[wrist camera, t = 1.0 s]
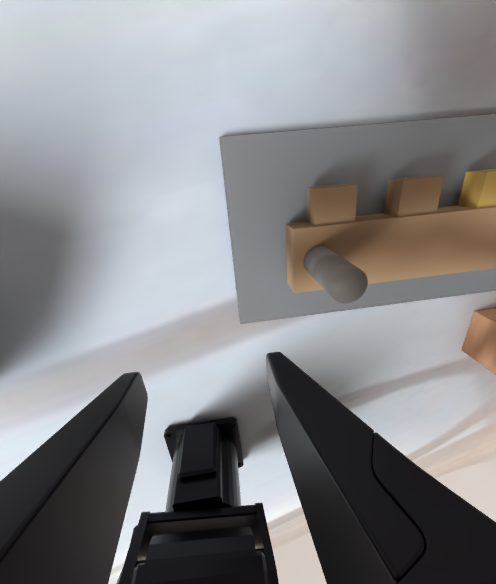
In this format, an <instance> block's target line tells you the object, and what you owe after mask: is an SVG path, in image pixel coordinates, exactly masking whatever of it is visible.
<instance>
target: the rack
mask: <svg viewBox="0 0 496 584" xmlns="http://www.w3.org/2000/svg"><path fill="white" fill-rule="evenodd" d="M443 179H444V176H420V177H410V178H400V179H390V180H388V186H387V194H386V201H385V209H384V213H381V214H372V215H362V216H356V204H357V192H358V185H356V184H339V185H329V186H319V187H309V188H307V222H297V223H288V224H286V259H287V283H288V285H289V286H290V288H291V289H292V291H293V292H294V293H301V292H309V291H317V290H326V291H327V293H328V294H329V295H330V296H331V297H332V298H333V299H334V300H335V301H337V302H339V303H343V304H348V303H352V302H354V301H356V300H358V299H359V298H360V297H361V296H362V295H363V294H364V292H365V291H366V289H367V285H368V284H373V283H381V282H389V281H397V280H405V279H413V278H420V277H428V276H436V275H444V274H452V273H460V272H468V271H476V270H484V269H492V268H496V169H491V170H481V171H471V172H466V174H465V178H464V182H463V186H462V191H461V195H460V199H459V203H458V205H456V206H446V207H438V203H439V198H440V193H441V189H442V184H443Z"/></svg>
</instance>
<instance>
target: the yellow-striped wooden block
mask: <svg viewBox="0 0 496 584" xmlns="http://www.w3.org/2000/svg"><path fill="white" fill-rule="evenodd" d="M462 351H464V352H465V353H466V354H468V355H469V356H471V357H472V358H473V359H475V360H476V361H478V362H479V363H480V364H482V365H483V366H484V367H486V368H487V369H489V370H490V371H491V372H493V373H494V374H496V308H493V309H486V310H478V311H474V313H473V316H472V319H471V322H470V325H469V328H468V331H467V334H466V338H465V341H464V344H463V347H462Z"/></svg>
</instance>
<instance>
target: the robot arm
mask: <svg viewBox="0 0 496 584" xmlns="http://www.w3.org/2000/svg"><path fill="white" fill-rule="evenodd" d="M266 364H267V378H268V384H269V389H270V394H271V399H272V404H273V409H274V414H275V419H276V424H277V429H278V433H279V436H280V440H281V443H282V446H283V449H284V452H285V456H286V459H287V462H288V465H289V468H290V471H291V474H292V477H293V480H294V483H295V486H296V490H297V493H298V496H299V499H300V502H301V505H302V508H303V511H304V514H305V517H306V520H307V524H308V527H309V530H310V533H311V536H312V539H313V542H314V545H315V548H316V551H317V554H318V558H319V561H320V564H321V566H322V570H323V573H324V576H325V579H326V582H327V584H496V522H495V521H493V520H492V519H490V518H489V517H488V516H486V515H485V514H483V513H482V512H481V511H479V510H478V509H476V508H475V507H473V506H472V505H471V504H469V503H468V502H466V501H465V500H464V499H462V498H461V497H460V496H458V495H457V494H455V493H454V492H452V491H451V490H450V489H448V488H447V487H446V486H444V485H443V484H441V483H440V482H438V481H437V480H436V479H435V478H433V477H432V476H431V475H429V474H428V473H427V472H425V471H424V470H423V469H421V468H420V467H419V466H417V465H416V464H415V463H413V462H412V461H411V460H410V459H408V458H407V457H406V456H405V455H403V454H402V453H401V452H400V451H398V450H397V449H396V448H395V447H393V446H392V445H391V444H390V443H388V442H387V441H386V440H385V439H384V438H383V437H381V436H380V435H379V434H378V433H374V431H373V429H372V428H370V427H369V426H368V425H367V424H366V423H364V422H363V421H362V420H361V419H360V418H358V417H357V416H356V415H355V414H354V413H352V412H351V411H350V410H349V409H348V408H346V407H345V406H344V405H343V404H342V403H341V402H339V401H338V400H337V399H336V398H335V397H333V396H332V395H331V394H330V393H329V392H327V391H326V390H325V389H324V388H323V387H321V386H320V385H319V384H318V383H317V382H315V381H314V380H313V379H312V378H311V377H309V376H308V375H307V374H306V373H305V372H304V371H302V370H301V369H300V368H299V367H298V366H296V365H295V364H294V363H293V362H292V361H290V360H289V359H288V358H287V357H286V356H284V355H283V354H282V353H281V352H274V353H268V354H267V355H266ZM147 401H148V397H147V392H146V388H145V385H144V382H143V379H142V376H141V374H140V373H139V372H131V373H125V374H123V375H121V376H120V377H119V378H118V379H117V380H116V381H115V382H113V383H112V384H111V385H110V386H109V387H108V388H107V389H105V390H104V391H103V392H102V393H101V394H100V395H99V396H97V397H96V398H95V399H94V400H93V401H92V402H91V403H89V404H88V405H87V406H86V407H85V408H84V409H83V410H81V411H80V412H79V413H78V414H77V415H76V416H75V417H73V418H72V419H71V420H70V421H69V422H68V423H67V424H65V425H64V426H63V427H62V428H61V429H60V430H59V431H57V432H56V433H55V434H54V435H53V436H52V437H51V438H49V439H48V440H47V441H46V442H45V443H44V444H43V445H41V446H40V447H39V448H38V449H37V450H36V451H35V452H33V453H32V454H31V455H30V456H29V457H28V458H27V459H25V460H24V461H23V462H22V463H21V464H20V465H19V466H17V467H16V468H15V469H14V470H13V471H12V472H10V473H9V474H8V475H7V476H6V477H5V478H4V479H2V480H1V481H0V584H108V581H109V577H110V573H111V569H112V565H113V561H114V557H115V553H116V549H117V545H118V541H119V537H120V533H121V529H122V525H123V521H124V517H125V513H126V509H127V505H128V501H129V497H130V493H131V489H132V485H133V482H134V478H135V474H136V470H137V465H138V461H139V457H140V450H141V444H142V437H143V430H144V423H145V416H146V409H147ZM164 438H165V441H166V444H167V447H168V450H169V453H170V456H171V459H172V462H173V464H172V471H171V478H170V484H169V491H168V498H167V504H166V511H165V512H158V513H150V512H142V513H141V517H140V520H139V523H138V526H136V527H135V528H134V530H133V534H132V539H131V543H130V547H129V550H128V553H127V557H126V560H125V563H124V566H123V569H122V571H121V574H120V576H119V579H118V581H117V584H278V576H277V570H276V565H275V560H274V556H273V550H272V546H271V541H270V536H269V532H268V527H267V523H266V518H265V513H264V509H263V504H262V503H255V505H246V506H241V499H240V486H239V473H238V468H239V467H242V466H243V456H242V449H241V442H240V435H239V428H238V421H237V419H235V418H228V419H222V420H215V421H209V422H203V423H196V424H190V425H183V426H177V427H170V428H167V429H166V430H165V433H164Z"/></svg>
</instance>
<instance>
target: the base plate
mask: <svg viewBox="0 0 496 584" xmlns="http://www.w3.org/2000/svg"><path fill="white" fill-rule="evenodd" d="M219 139H220V148H221V157H222V166H223V175H224V184H225V192H226V201H227V210H228V219H229V228H230V237H231V246H232V255H233V263H234V272H235V281H236V290H237V299H238V308H239V317H240V324H244V323H252V322H260V321H267V320H275V319H282V318H290V317H298V316H305V315H313V314H320V313H328V312H336V311H343V310H351V309H358V308H366V307H374V306H381V305H389V304H396V303H404V302H412V301H419V300H427V299H434V298H442V297H450V296H457V295H465V294H472V293H480V292H488V291H495V290H496V268H492V269H484V270H476V271H468V272H460V273H452V274H444V275H436V276H428V277H420V278H413V279H405V280H397V281H389V282H381V283H373V284H368V285H367V289H366V291H365V292H364V294H363V295H362V296H361V297H360V298H359V299H358V300H356V301H354V302H352V303H348V304H343V303H339V302H337V301H335V300H334V299H333V298H332V297H331V296H330V295H329V294H328V293H327V291H326V290H317V291H309V292H301V293H294V292H293V291H292V289H291V288H290V286H289V285H288V283H287V259H286V224H288V223H297V222H307V188H309V187H319V186H329V185H339V184H356V185H358V192H357V204H356V216H362V215H372V214H381V213H384V209H385V201H386V194H387V186H388V180H390V179H400V178H410V177H420V176H444V179H443V184H442V189H441V193H440V198H439V203H438V207H446V206H456V205H458V203H459V199H460V195H461V191H462V186H463V182H464V178H465V174H466V172H471V171H481V170H491V169H496V114H487V115H475V116H463V117H451V118H439V119H427V120H415V121H403V122H391V123H379V124H367V125H356V126H344V127H332V128H320V129H308V130H296V131H284V132H272V133H260V134H248V135H236V136H224V137H219Z"/></svg>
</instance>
